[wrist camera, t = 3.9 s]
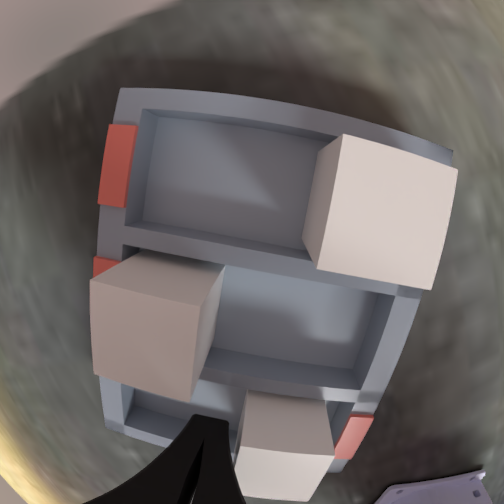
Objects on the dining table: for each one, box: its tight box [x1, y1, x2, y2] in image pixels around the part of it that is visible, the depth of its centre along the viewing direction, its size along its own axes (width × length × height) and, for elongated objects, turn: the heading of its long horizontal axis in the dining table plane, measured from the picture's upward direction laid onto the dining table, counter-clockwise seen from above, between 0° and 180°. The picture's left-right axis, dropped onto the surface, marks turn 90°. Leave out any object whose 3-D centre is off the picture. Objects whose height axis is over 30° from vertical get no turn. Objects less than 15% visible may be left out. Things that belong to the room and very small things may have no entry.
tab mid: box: [90, 249, 225, 403], centre depth 10 cm, size 3×3×4 cm
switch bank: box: [93, 88, 453, 473], centre depth 11 cm, size 11×14×3 cm
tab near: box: [301, 134, 458, 290], centre depth 8 cm, size 3×3×4 cm
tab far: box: [233, 389, 335, 501], centre depth 10 cm, size 3×3×4 cm
